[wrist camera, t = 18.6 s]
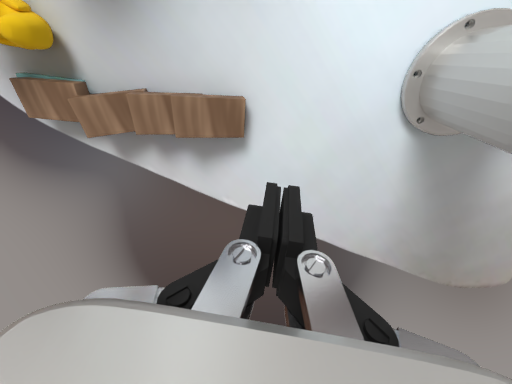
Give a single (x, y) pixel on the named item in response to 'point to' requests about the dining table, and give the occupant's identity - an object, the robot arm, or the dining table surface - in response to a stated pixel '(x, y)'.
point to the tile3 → (104, 113)
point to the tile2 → (152, 112)
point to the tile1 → (208, 116)
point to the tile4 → (48, 97)
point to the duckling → (23, 26)
